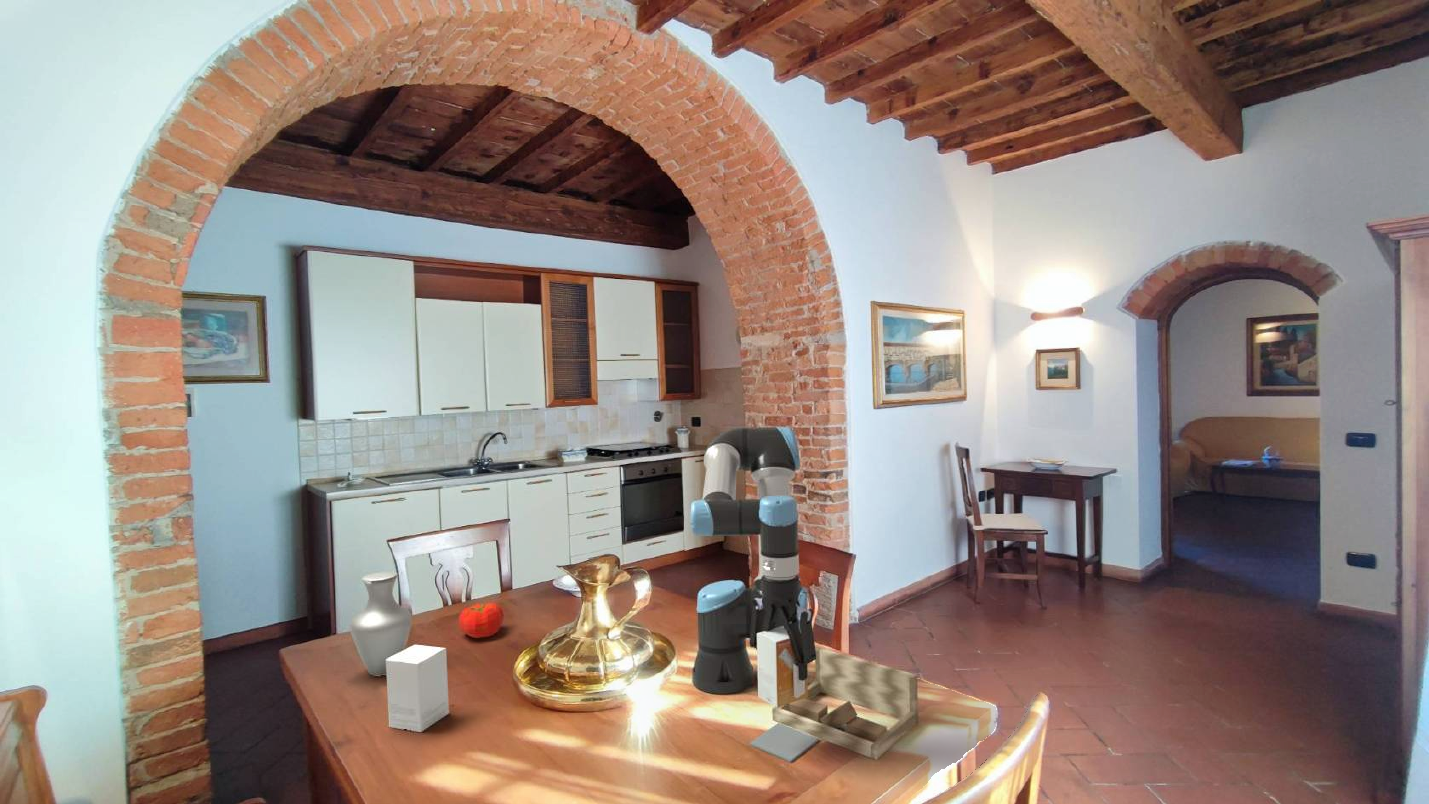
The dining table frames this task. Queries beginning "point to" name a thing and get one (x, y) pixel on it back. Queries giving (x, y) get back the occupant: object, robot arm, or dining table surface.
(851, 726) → the offcut
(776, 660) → the small box
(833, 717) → the offcut
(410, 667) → the supplement box
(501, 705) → the dining table surface
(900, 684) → the tray
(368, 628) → the vase
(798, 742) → the mat
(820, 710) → the offcut
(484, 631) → the tomato
